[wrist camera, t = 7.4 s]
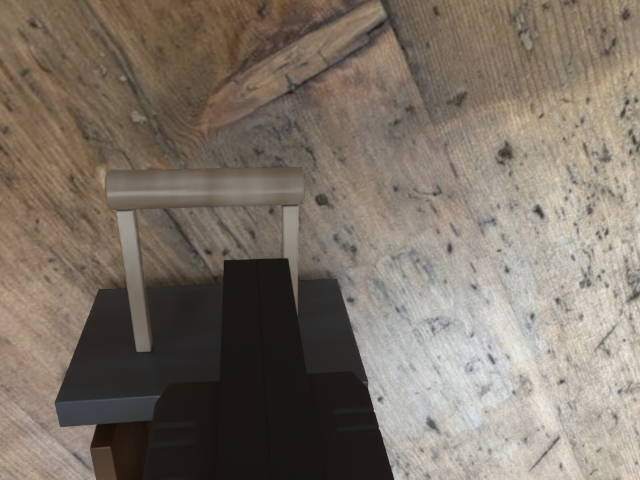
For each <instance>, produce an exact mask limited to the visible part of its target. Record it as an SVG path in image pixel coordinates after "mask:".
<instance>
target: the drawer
mask: <svg viewBox="0 0 640 480" xmlns="http://www.w3.org/2000/svg"><path fill="white" fill-rule="evenodd" d="M105 196H106V201H107V205H108V207H109V209H111V210H117V212H116V213H117V220H118V227H119V234H120V241H121V248H122V255H123V262H124V269H125V276H126V283H127V288H117V289H99V291H98V293H97V296H96V298H95V301H94V303H93V306H92V309H91V311H90V314H89V316H88V319H87V321H86V324H85V326H84V329H83V332H82V334H81V337H80V339H79V342H78V344H77V347H76V349H75V352H74V355H73V357H72V360H71V362H70V365H69V367H68V370H67V373H66V375H65V378H64V380H63V383H62V385H61V388H60V390H59V393H58V396H57V398H56V401H55V406H56V411H57V415H58V419H59V424H60V427H67V426H81V425H95V424H97V426H96V429H95V433H94V436H93V440H92V443H91V447H90V451H91V456H92V461H93V466H94V470H95V475H96V480H142V476H143V470H144V465H145V459H146V453H147V449H148V442H149V436H150V430H151V424H152V418H153V413H154V407H155V403H156V402H157V400H158V399H159V398H160V396H161V395H162V393H163V392H164V391H165V389H166V388H167V387H168V385H169V384H174V383H190V382H206V381H220V355H221V328H222V301H223V284H206V285H184V286H162V287H146V286H145V278H144V270H143V263H142V255H141V247H140V239H139V231H138V223H137V215H136V209H161V208H195V207H230V206H265V205H282V258H288V260H289V266H290V272H291V279H292V285H293V291H294V297H295V303H296V310H297V316H298V322H299V328H300V334H301V340H302V347H303V353H304V359H305V365H306V371H307V374H309V373H325V372H341V371H353V372H354V373H355V375H356V376H357V377H358V378H359V379H360V380H361V381H362V382H363V383H364V384H365V386H366V387H367V388H368V379H367V376H366V373H365V370H364V366H363V363H362V360H361V356H360V353H359V350H358V346H357V343H356V340H355V337H354V333H353V330H352V327H351V323H350V320H349V317H348V314H347V310H346V307H345V304H344V300H343V297H342V294H341V290H340V287H339V284H338V281H337V279H317V280H298V217H299V207H298V205H300V204H304V201H305V175H304V170H303V167H263V168H215V169H167V170H118V171H108V172H107V174H106V178H105Z"/></svg>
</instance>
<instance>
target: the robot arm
mask: <svg viewBox="0 0 640 480" xmlns="http://www.w3.org/2000/svg"><path fill="white" fill-rule="evenodd" d="M142 480H394V477H393V473H392V470H391V466H390V463H389V460H388V456H387V453H386V449H385V446H384V442H383V439H382V436H381V432H380V430H379V425H378V422H377V418H376V415H375V413H374V408H373V405H372V401H371V398H370V394H369V391H368V388H367V387H366V386H365V384H364V383H363V382H362V381H361V380H360V379H359V378H358V377H357V376H356V375H355V373H354V372H353V371H341V372H325V373H309V374H307V371H306V365H305V359H304V353H303V347H302V340H301V334H300V328H299V322H298V316H297V310H296V303H295V297H294V291H293V285H292V279H291V272H290V266H289V260H288V258H276V259H249V260H224V274H223V301H222V328H221V355H220V381H206V382H190V383H174V384H169V385H168V387H167V388H166V389H165V391H164V392H163V393H162V395H161V396H160V398H159V399H158V400H157V402H156V403H155V407H154V413H153V418H152V424H151V430H150V436H149V442H148V449H147V453H146V459H145V465H144V470H143V476H142Z"/></svg>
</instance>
